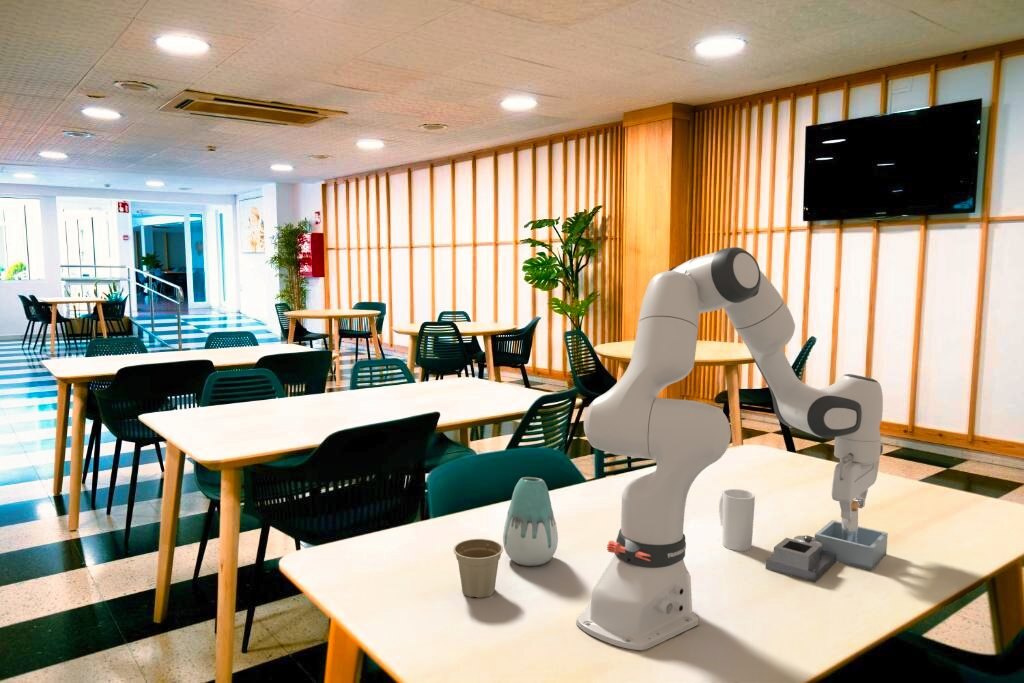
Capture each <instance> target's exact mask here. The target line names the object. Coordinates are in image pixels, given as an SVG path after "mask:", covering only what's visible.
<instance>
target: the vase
mask: <svg viewBox="0 0 1024 683" xmlns="http://www.w3.org/2000/svg"><path fill="white" fill-rule="evenodd" d="M553 510H554V509H553V506H552V501H551V498H550V492H549V489H548V486H547V484H546V482H545V480H543V478H538V477H531V476H525V477H521V478H520V479H519V480H518V482H517V483H516V485H515V486H514V490H513V492H512V496H511V499H510V504H509V507H508V510H507V514H506V519H505V522H504V526H503V527H504V528H503V534H502V542H503V549H504V551H505V553H506V555H507V556H508V557H509V559H510V560H511V561H512V562H514V563H515V564H517V565H520V566H527V567H536V566H541V565H544V564H546V563H548V562H550V560H551V559H552V558H553V557H554V555H555V553H556V552H557V551H556V550H557V548H558V543H559V534H558V533H559V532H558V527H557V523H556V519H555V515H554V511H553Z"/></svg>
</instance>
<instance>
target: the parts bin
mask: <svg viewBox="0 0 1024 683" xmlns="http://www.w3.org/2000/svg"><path fill="white" fill-rule="evenodd" d="M888 533H889V532H885V531H881V530H876V529H872V528H867V527H864V526H859V525H858V543H854V542H850V541H846V540H842V521H838V520H833V519H831V520H830V521H829V522H828V523H827V524H825V525H823V527H822V528H820V530H818V531H817V532H816V533H815V534H814V537H815V538H817V539H819V540H821V541H822V550H824V551H828V552H832V553H836V563H840V564H845V565H847V566H852V567H856V568H860V569H862V570H863V569H864V570H866V571H867V570H868V571H871V572H872V571H874V569H875V568H876V567H877V565H879V563H880V562H881V561H882V560H883V559H884V558H885V557H886V555H887V550H888V549H887V548H888V535H889V534H888Z"/></svg>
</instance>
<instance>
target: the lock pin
mask: <svg viewBox="0 0 1024 683" xmlns="http://www.w3.org/2000/svg"><path fill="white" fill-rule="evenodd" d="M851 510H852V517H851V518H850V519H843V518H842V517H841V522H842V540H846V541H850V542H854V543H858V526H859V508H858V502H857V501H855V499H854V500H852V504H851Z"/></svg>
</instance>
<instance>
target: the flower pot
mask: <svg viewBox="0 0 1024 683" xmlns="http://www.w3.org/2000/svg"><path fill="white" fill-rule="evenodd" d="M452 549H453V553H454V555H455V558H456V560H457V563H458V571H459V576H460V584H461V591H462V593H463V595H465V596H467V597H469V598H473V597H476V598H477V599H483V598H487V597H490V596H492V595H493V594H494V592H495V590H496V580H497V574H498V566H499V560H500V559H501V557H502V556H501V555H502V553H503V551H504V545H502V544H501V543H500V542H498V541H495V540H493V539H488V538H471V539H465V540H462V541H460V542H458V543H456V544H455V545H454V547H453V548H452Z"/></svg>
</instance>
